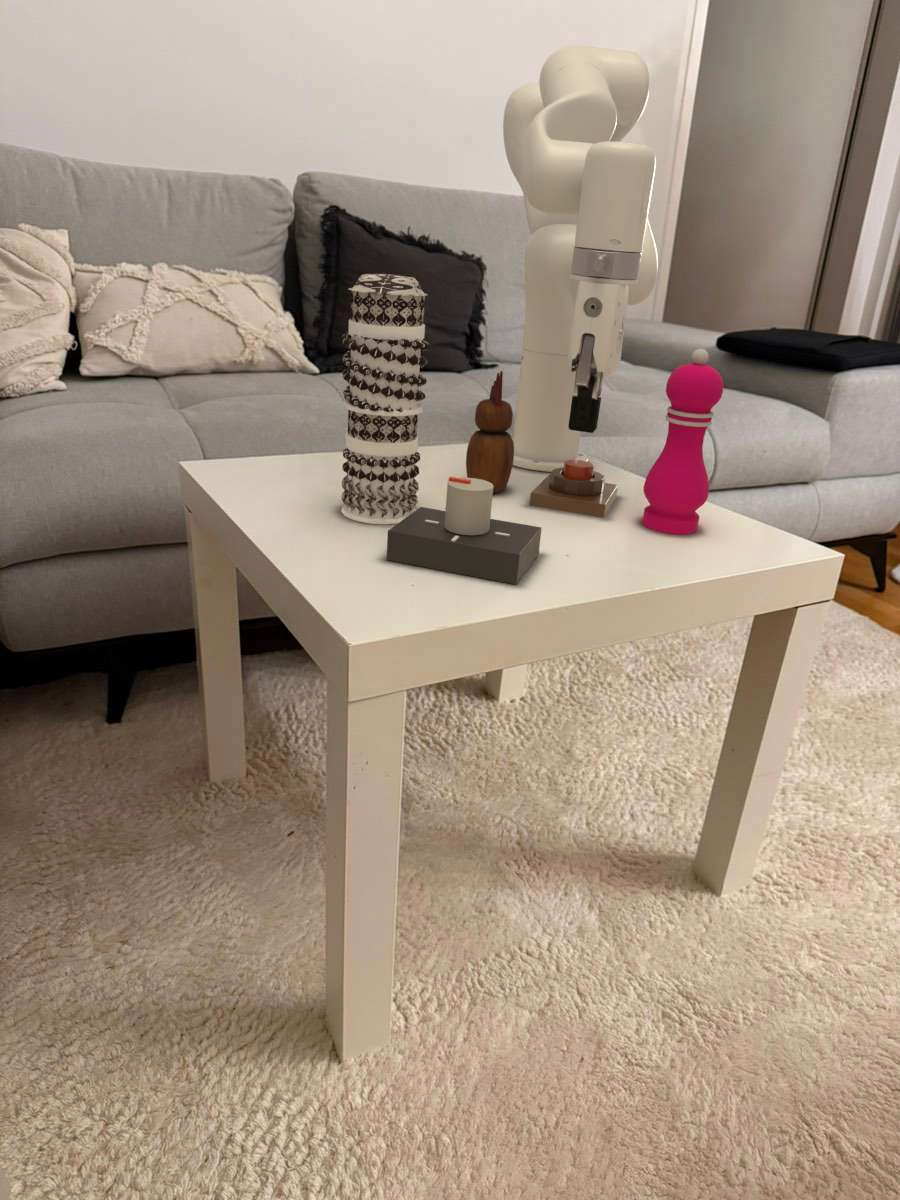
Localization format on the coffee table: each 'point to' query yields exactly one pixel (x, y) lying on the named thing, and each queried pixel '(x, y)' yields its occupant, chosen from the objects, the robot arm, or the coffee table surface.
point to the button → (578, 469)
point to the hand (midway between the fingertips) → (582, 429)
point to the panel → (464, 547)
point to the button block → (574, 494)
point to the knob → (468, 506)
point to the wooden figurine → (492, 440)
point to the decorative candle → (383, 398)
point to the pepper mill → (683, 449)
